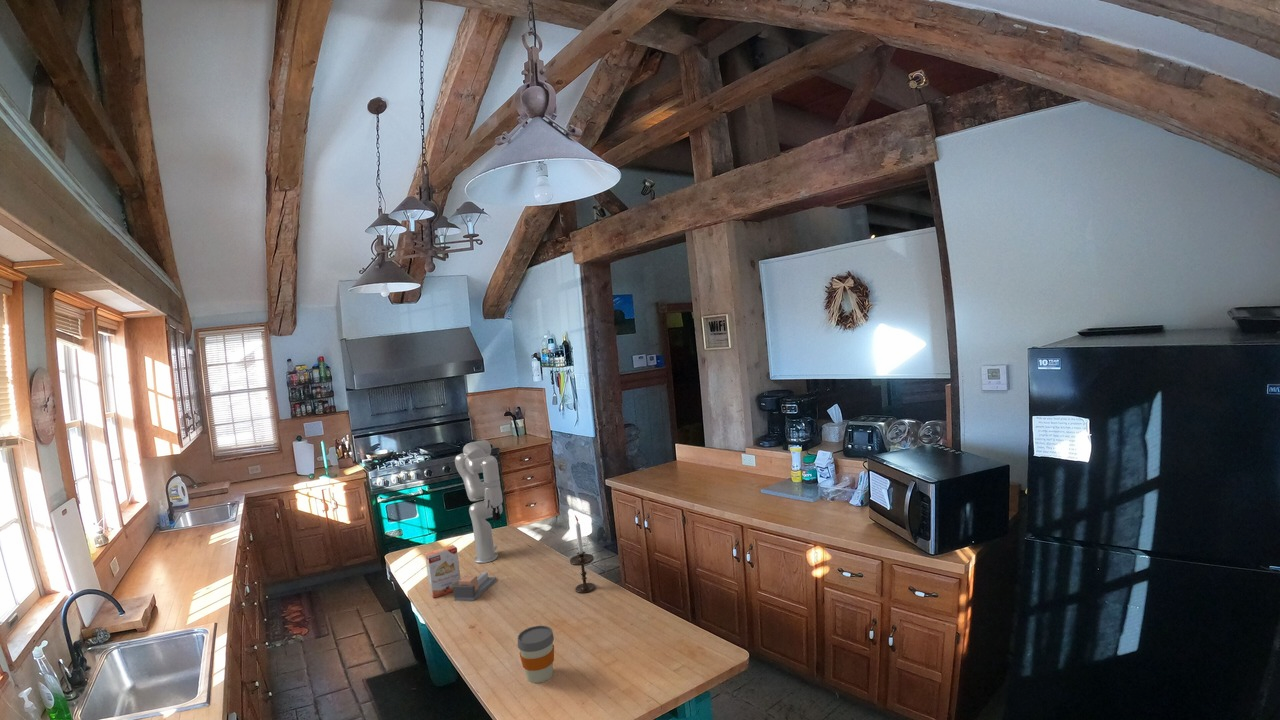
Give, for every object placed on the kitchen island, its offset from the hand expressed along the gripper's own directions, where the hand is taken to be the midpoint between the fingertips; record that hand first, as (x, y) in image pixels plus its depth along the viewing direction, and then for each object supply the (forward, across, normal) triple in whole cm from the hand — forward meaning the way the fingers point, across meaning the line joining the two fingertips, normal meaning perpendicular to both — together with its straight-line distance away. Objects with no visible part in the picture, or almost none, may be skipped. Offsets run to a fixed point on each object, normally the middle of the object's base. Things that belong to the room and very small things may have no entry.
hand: (496, 519), depth 303 cm
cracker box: (+29, +17, -22) cm, 40 cm away
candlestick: (+29, +13, +48) cm, 58 cm away
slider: (+27, +21, -7) cm, 35 cm away
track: (+29, +15, -7) cm, 33 cm away
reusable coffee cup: (+29, +80, +55) cm, 101 cm away
